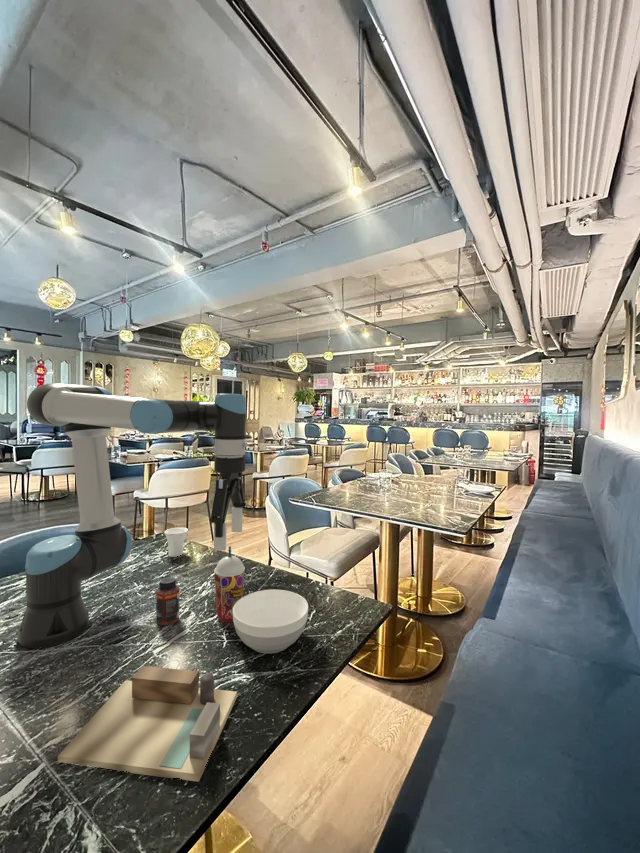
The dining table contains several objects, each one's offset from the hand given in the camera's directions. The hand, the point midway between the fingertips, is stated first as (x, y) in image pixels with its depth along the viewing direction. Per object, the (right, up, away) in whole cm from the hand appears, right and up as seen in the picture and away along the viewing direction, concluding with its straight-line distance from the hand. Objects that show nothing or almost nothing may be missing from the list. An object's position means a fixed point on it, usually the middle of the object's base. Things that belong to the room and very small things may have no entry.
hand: (229, 540), depth 97 cm
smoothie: (-3, -25, +11) cm, 27 cm away
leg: (-8, -24, -20) cm, 33 cm away
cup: (-34, -23, +57) cm, 70 cm away
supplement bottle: (-19, -25, +9) cm, 32 cm away
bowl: (+10, -26, +1) cm, 28 cm away
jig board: (-7, -26, -27) cm, 38 cm away
